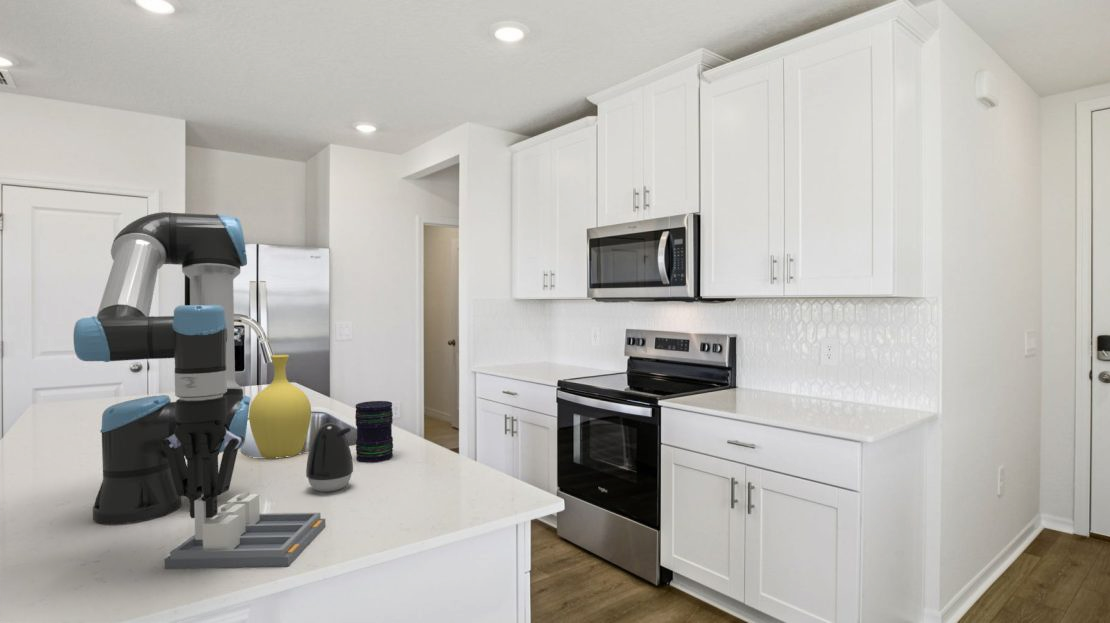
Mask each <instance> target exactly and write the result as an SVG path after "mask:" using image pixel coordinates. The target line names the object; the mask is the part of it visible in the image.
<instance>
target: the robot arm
mask: <svg viewBox="0 0 1110 623" xmlns="http://www.w3.org/2000/svg"><path fill="white" fill-rule="evenodd" d="M110 248H111V249H110V255H111V258H112V261H113V263H112V265H111V268H110V271H109V275H108V278H107V282H106V284H105V288H104V291H103V295H102V298H101V301H100V305H99V308H98V311H97V314H96V315H95V316H90V317H82V318H80V319H77V321H76V322H75V324H74V328H73V334H72V335H73V337H72V338H73V348H74V349H73V350H74V353H75V355H76V357H77V358H78V359H79V360H80V361H82V362H104V363H108V362H120V361H121V362H122V361H137V360H139V361H140V360H158V359H162V360H163V359H174V396H175V397H176V398H178V399H176V401H171V398H170V396H169V395H166V394H162V395H151V396H145V397H141V398H134V399H130V400H126V401H122V402H119V403H116V404H112V405H110V406H109V407H107V408H106V409H104V411H103V413H102V414H101V415H102V416H101V429H100V430H99V431H100V433H101V451H102V452H101V453H102V454H101V455H102V457H101V458H102V459H101V460H102V482H101V484H100V486H99V490H98V493H97V495H96V498H95V501H94V504H93V506H92V520H93V522H95V523H97V524H102V525H123V524H130V523H137V522H143V521H146V520H147V521H148V520H151V519H155V518H160V517H162V516H165V515H167V514H170V513H172V512H174V511H176V510H178V509H179V508H180V507H182V506H181V505H182V503H183V502H182V501H183V500H182V499H183V498H182V497H185V498H187V499H188V500H189V516H190V518H191V519H194V535H195V540H203V524H204V523H205V522H207V521H208V520H209V519H211V518H212V517H214V516H215V515H217V512H218V510H217V508H218V497H220V496H221V495H223V494H224V493H226V492H228V491H229V490H230V487H231V483H232V482H231V481H232V478H233V473H234V470H235V464H236V460H237V455H238V452H239V451H238V450H239V449H241V448H242V447H243V446H244V445H245V443H246V436H247V428H248V421H249V411H250V405H251V404H250V402H251V397H250V396H247V395H244V388H243V387H242V386H240V384H238V383H237V381H236V368H235V367H236V366H235V365H236V360H235V359H236V358H235V351H236V350H235V310H234V308H235V307H234V306H235V305H234V304H235V302H234V301H235V300H234V299H235V298H234V297H235V296H234V279H236V278H237V277H238V276H239V275H240V274H241V267H244V266H247V264H248V257H247V255H248V254H247V251H246V243H245V237H244V231H243V228H242V224H241V220H239V219H238V218H237V217H236V216H233V215H223V214H222V215H221V214H218V213H217V214H203V213H185V212H184V213H183V212H172V211H171V212H167V211H165V212H164V211H161V212H154V213H150V214H147V215H144V216H142V217H140V218H137V219H136V220H134V221H132V222H130V223H128V224H127V225H125V227H124V228H122V229H121V230H120V231H119V232H118V233H117V235H116V236H115V237H114V239H113V242H112V244H111V247H110ZM163 265H179V266H180V265H181V272H182V273H183V274H184V275H185V276H186V277H187V278H189V305H188V304H187V305H184V304H182V305H181V304H180V305H177V306H175V307H174V310H173V315H168V316H167V315H165V316H160V315H159V316H158V315H157V316H156V315H155V316H153V315H152V316H150V314H151V309H152V302H153V297H154V293H155V292H154V291H155V288H156V287H155V286H156V282H157V276H158V271H159V269H161V268H162V267H163ZM221 453H222V456H221V462H220V465H219V455H220V454H221ZM186 461H187V462H186Z"/></svg>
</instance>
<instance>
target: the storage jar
mask: <svg viewBox="0 0 1110 623" xmlns="http://www.w3.org/2000/svg"><path fill="white" fill-rule="evenodd" d="M354 415H355V416H354V417H355V427H356V439H355V444H356V445H355V451H356V461H357V462H358V463H365V464H375V463H382V462H387V461H390V460H391V459H393V458H394V454H393V452H394V450H393V448H394V443H393V442H394V437H393V433H392V428H393V427H392V424H393V421H394V420H393V402H392V401H387V400H371V401H363V402H359V403H356V404H355V414H354Z"/></svg>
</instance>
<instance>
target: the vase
mask: <svg viewBox="0 0 1110 623" xmlns="http://www.w3.org/2000/svg"><path fill="white" fill-rule="evenodd" d="M269 358H270V360H271V362H272V364H273V368H274V371H273V373H274V375H273V380H272V381H271V383H270V384H269V385H268V386H266V387H265V388H263V389H262V390H261V391H259V392H258V393H257V394H256V395H255V397H254V398H253V399H252V401H251V404H250V406H249V412H248V421H249V427H250V430H251V434H252V437H253V439H254V443H255V444H256V445H255V446H256V447H257V449H258V452H259V454H260V456H261V457H262V458H263V459H264V458H265V459H272V458H273V459H277V458H276V457H285V458H287V457H286V456H291V457H293V455H294V456H297V455H300V454H301V453H302V450H303V448H304V446H305V442H306V438H307V436H308V433H309V430H310V425H311V420H312V419H311V418H312V407H311V402H310V399H309V398H308V396H307V395H306V393H305V392H304V391H303V390H302V389H300V388H299V387H297V386H295V385H293V383H291V382H290V381H289V380H288V379H287V374H286V367H287V362H288V360H289V358H290V355H289V354H273V355H270V356H269Z"/></svg>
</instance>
